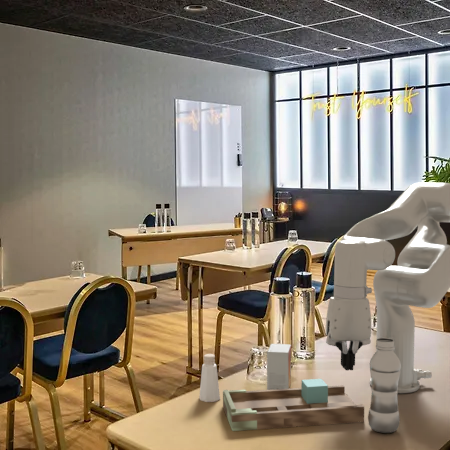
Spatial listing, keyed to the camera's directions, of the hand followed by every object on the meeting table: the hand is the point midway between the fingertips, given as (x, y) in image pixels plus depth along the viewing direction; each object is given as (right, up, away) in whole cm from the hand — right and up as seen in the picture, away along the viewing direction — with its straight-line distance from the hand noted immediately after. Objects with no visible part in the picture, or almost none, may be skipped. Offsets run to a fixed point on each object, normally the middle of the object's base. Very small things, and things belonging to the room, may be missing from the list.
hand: (347, 368), depth 145 cm
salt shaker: (-33, -9, +6) cm, 35 cm away
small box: (-15, -8, +14) cm, 22 cm away
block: (-8, -7, 0) cm, 11 cm away
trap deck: (-14, -10, -4) cm, 17 cm away
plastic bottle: (+5, -11, -13) cm, 18 cm away
